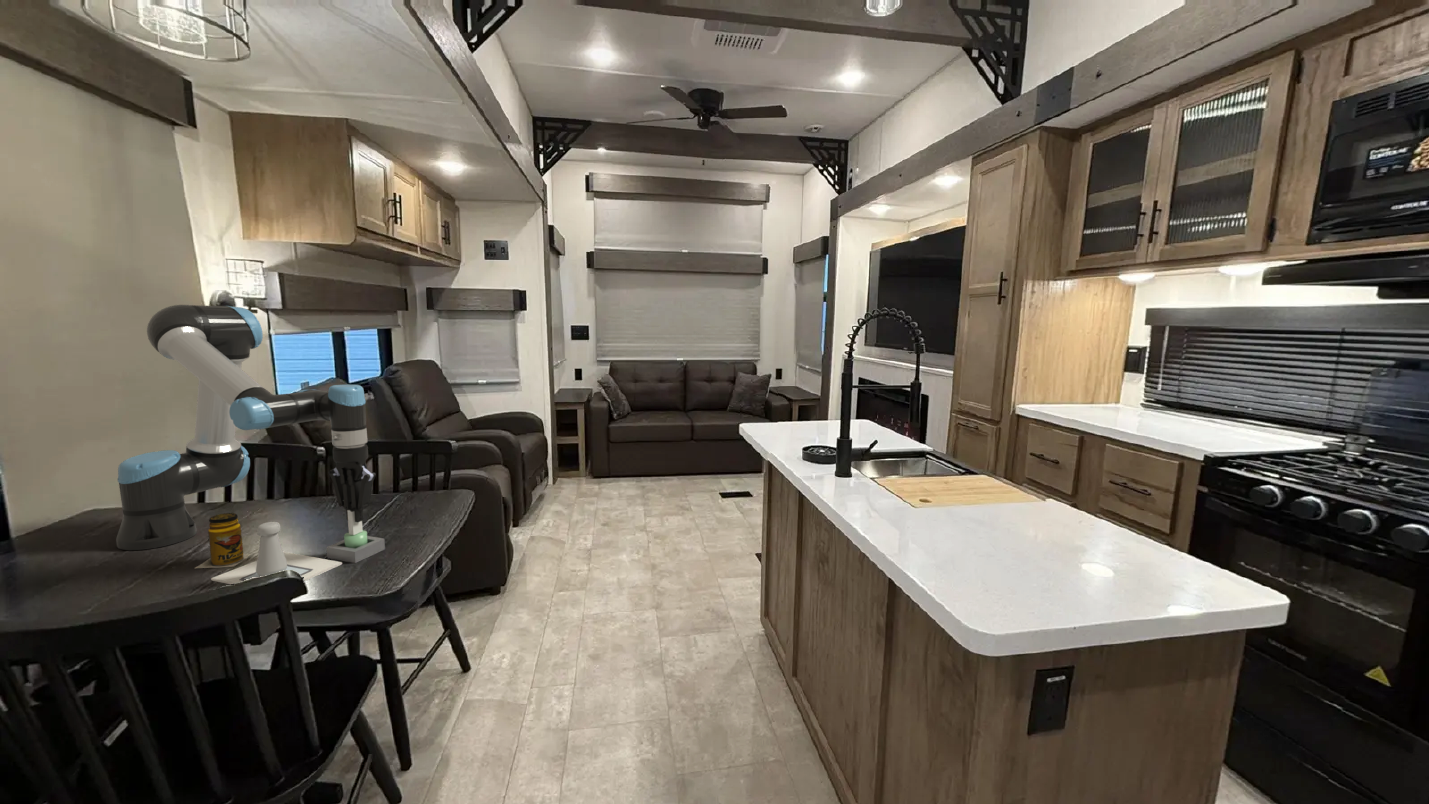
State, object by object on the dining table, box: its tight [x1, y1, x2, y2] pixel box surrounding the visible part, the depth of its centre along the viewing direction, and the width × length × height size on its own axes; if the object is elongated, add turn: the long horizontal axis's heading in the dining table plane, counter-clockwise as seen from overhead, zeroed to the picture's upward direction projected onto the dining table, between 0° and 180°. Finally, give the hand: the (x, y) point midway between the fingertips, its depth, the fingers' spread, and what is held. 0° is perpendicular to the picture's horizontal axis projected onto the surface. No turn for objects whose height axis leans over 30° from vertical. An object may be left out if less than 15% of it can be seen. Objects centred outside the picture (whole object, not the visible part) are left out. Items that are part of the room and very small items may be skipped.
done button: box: [343, 529, 368, 549], centre depth 142 cm, size 5×5×4 cm
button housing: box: [326, 535, 386, 564], centre depth 143 cm, size 9×9×3 cm
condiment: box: [194, 512, 252, 569], centre depth 135 cm, size 7×8×12 cm
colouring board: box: [210, 551, 343, 585], centre depth 131 cm, size 20×16×1 cm
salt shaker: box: [256, 521, 287, 577], centre depth 127 cm, size 6×6×13 cm
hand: (355, 532), depth 142 cm, fingers closed
